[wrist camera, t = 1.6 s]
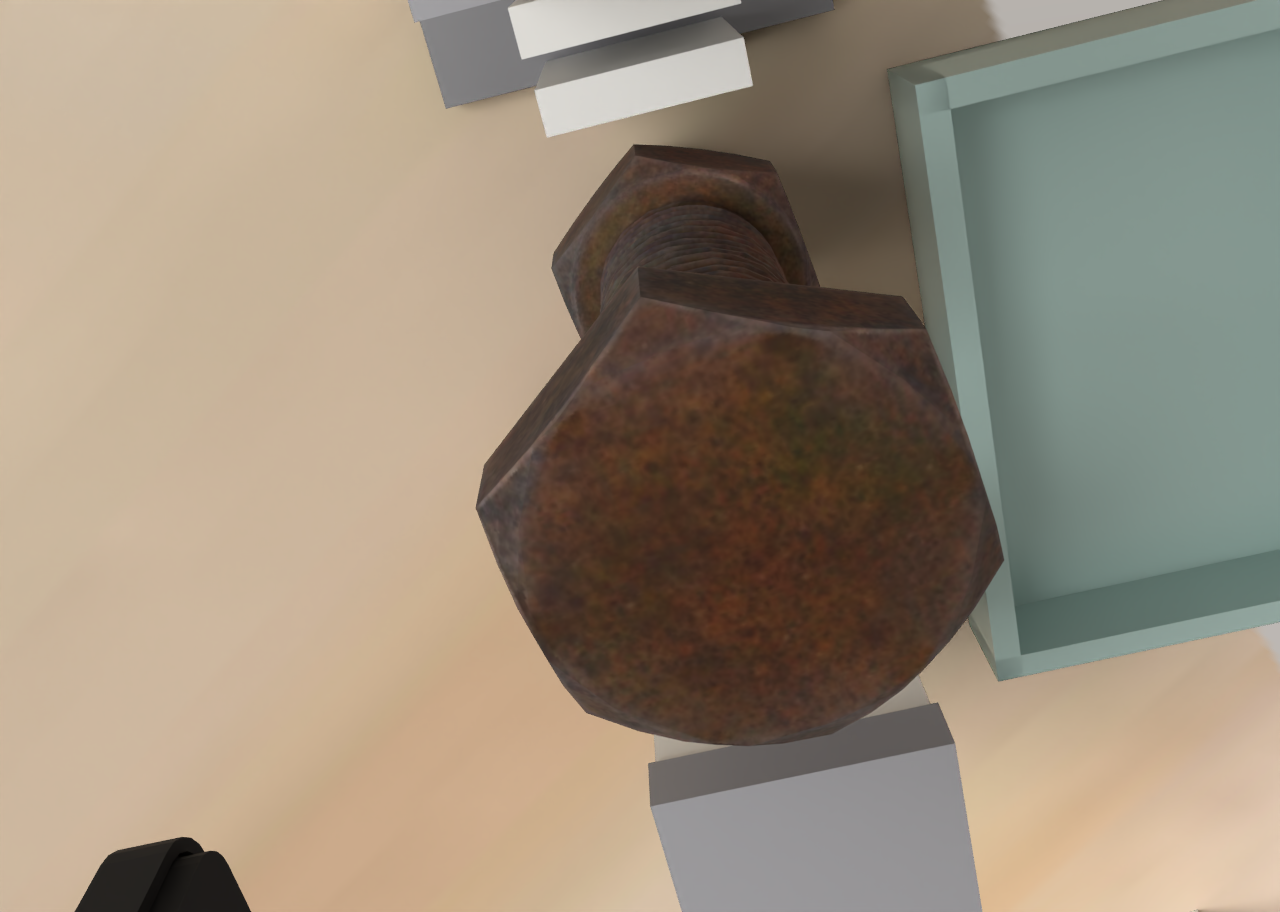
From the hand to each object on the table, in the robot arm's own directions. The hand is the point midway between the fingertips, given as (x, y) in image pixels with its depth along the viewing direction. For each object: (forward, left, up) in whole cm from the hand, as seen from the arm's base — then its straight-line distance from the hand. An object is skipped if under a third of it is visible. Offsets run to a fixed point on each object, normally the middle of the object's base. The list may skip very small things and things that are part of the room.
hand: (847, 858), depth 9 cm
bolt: (0, 0, -19) cm, 19 cm away
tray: (+5, +10, -19) cm, 22 cm away
